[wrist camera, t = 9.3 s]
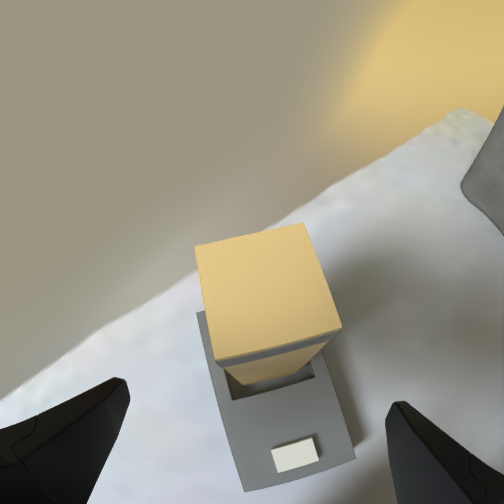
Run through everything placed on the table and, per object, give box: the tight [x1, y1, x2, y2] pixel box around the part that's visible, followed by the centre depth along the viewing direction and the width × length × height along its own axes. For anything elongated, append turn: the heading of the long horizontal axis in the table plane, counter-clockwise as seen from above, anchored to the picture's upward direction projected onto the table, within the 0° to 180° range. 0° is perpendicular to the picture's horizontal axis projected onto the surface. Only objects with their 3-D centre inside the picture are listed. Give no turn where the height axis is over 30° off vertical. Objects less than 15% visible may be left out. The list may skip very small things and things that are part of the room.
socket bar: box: [196, 311, 356, 492], centre depth 19 cm, size 14×8×3 cm, turn 15°
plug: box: [195, 223, 342, 386], centre depth 15 cm, size 4×4×14 cm
